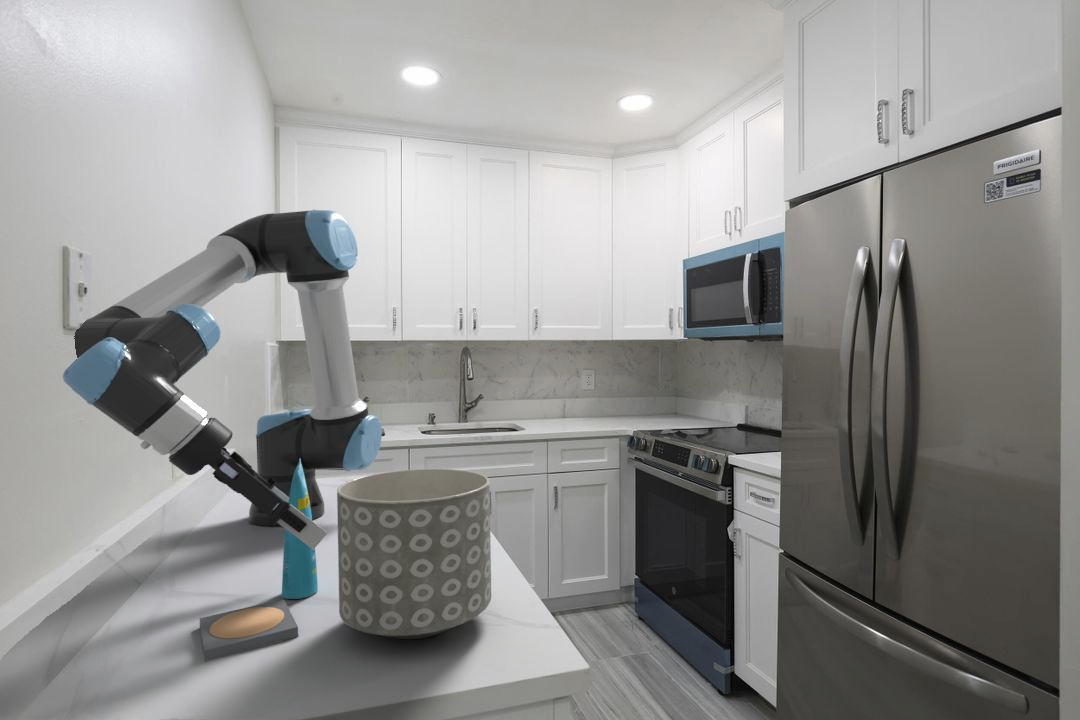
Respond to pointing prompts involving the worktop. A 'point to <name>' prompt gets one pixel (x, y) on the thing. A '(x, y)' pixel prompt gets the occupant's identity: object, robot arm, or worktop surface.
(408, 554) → the planter
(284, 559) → the tube
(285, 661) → the worktop surface
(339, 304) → the robot arm
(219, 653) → the coaster
